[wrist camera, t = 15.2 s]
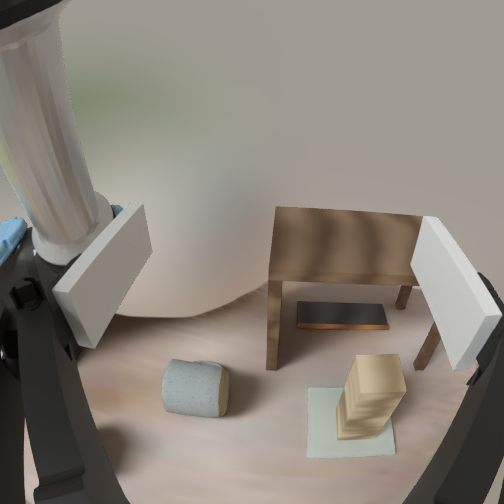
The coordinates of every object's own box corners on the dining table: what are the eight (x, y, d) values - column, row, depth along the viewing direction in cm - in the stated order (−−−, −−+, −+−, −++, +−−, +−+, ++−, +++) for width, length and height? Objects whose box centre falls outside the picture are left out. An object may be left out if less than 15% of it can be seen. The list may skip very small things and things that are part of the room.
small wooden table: (266, 370, 45) (268, 269, 35) (273, 299, 58) (275, 206, 48) (423, 370, 42) (469, 277, 32) (402, 303, 56) (428, 217, 46)
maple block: (337, 440, 34) (360, 393, 28) (335, 408, 38) (356, 354, 32) (374, 438, 34) (406, 391, 27) (370, 407, 38) (398, 354, 31)
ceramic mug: (227, 427, 37) (222, 399, 33) (168, 421, 37) (155, 392, 33) (234, 368, 46) (231, 335, 42) (182, 364, 46) (174, 331, 42)
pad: (306, 458, 33) (306, 457, 33) (308, 388, 42) (308, 387, 42) (394, 454, 32) (395, 453, 31) (385, 388, 41) (385, 386, 41)
